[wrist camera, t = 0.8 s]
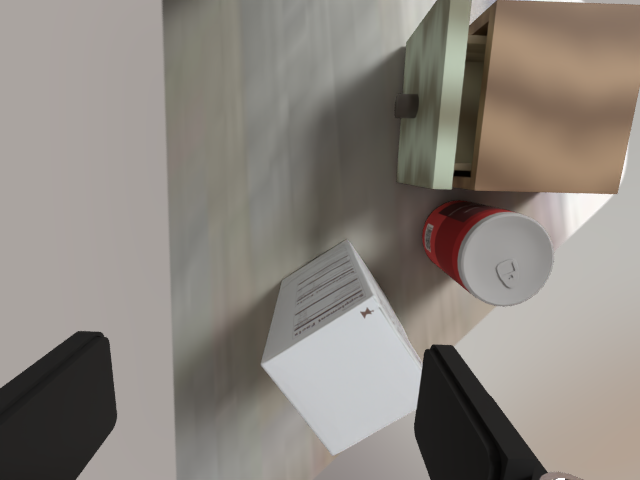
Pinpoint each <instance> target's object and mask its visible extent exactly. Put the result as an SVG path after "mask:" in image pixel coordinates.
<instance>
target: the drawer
mask: <svg viewBox="0 0 640 480" xmlns="http://www.w3.org/2000/svg"><path fill="white" fill-rule="evenodd" d="M471 2H472V0H437V1H436V2H435V4H434V5H433V7H432V8H431V9H430V11H429V12H428V13H427V15H426V16H425V18H424V19H423V20H422V22H421V23H420V24H419V26H418V27H417V28H416V30H415V31H414V33H413V34H412V35H411V37H410V38H409V39H408V41H407V42H406V55H405V69H404V83H403V94H398V95H397V97H396V102H395V117H396V118H401V125H400V139H399V153H398V167H397V181H396V182H399V183H404V184H409V185H415V186H420V187H425V188H430V189H452V181H453V172H454V170H468V171H471V169H472V161H473V152H474V144H475V135H476V127H477V118H478V109H479V101H480V92H481V84H482V75H483V67H484V58H485V49H486V41H487V36H482V35H468V30H469V21H470V11H471Z"/></svg>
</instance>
